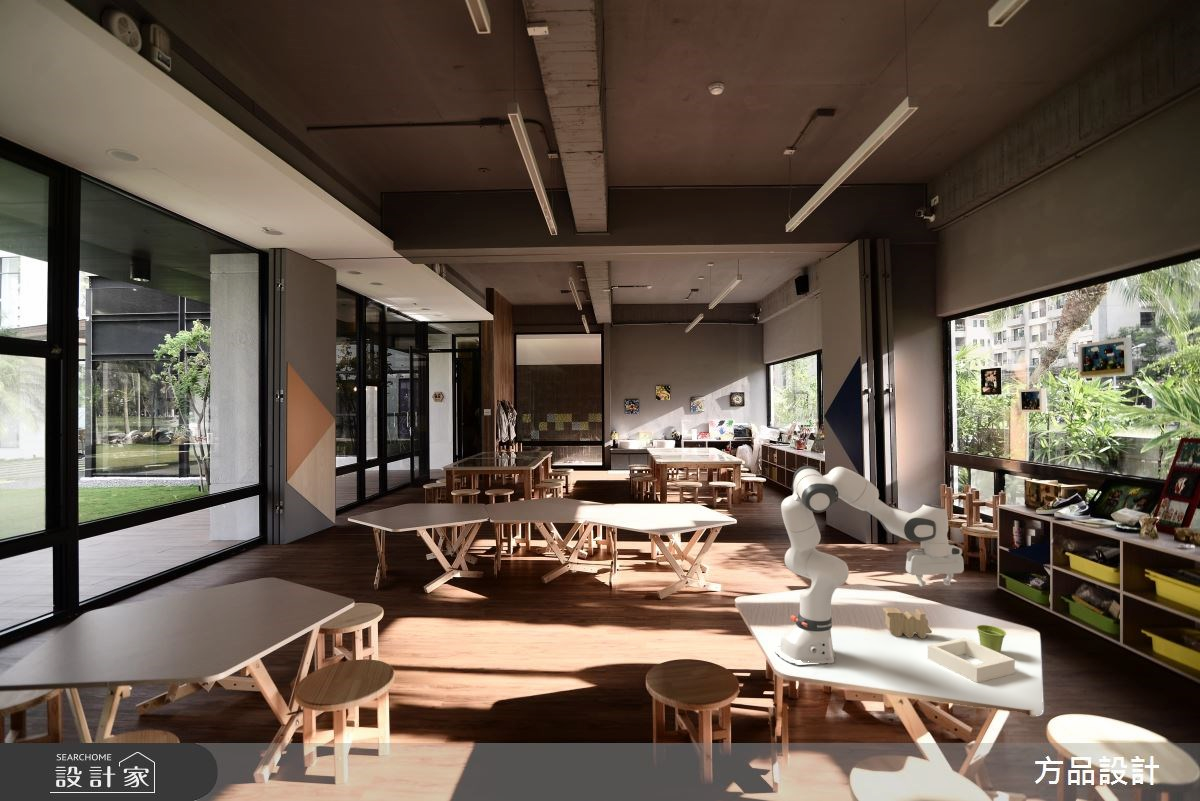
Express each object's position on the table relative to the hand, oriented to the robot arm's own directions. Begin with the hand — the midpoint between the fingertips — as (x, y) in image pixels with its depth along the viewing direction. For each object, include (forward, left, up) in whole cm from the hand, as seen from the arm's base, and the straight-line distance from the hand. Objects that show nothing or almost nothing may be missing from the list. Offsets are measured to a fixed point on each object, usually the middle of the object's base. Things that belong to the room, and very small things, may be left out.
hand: (934, 585), depth 211 cm
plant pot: (+28, -2, -29) cm, 40 cm away
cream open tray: (+10, -7, -29) cm, 31 cm away
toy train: (+11, +21, -29) cm, 38 cm away
